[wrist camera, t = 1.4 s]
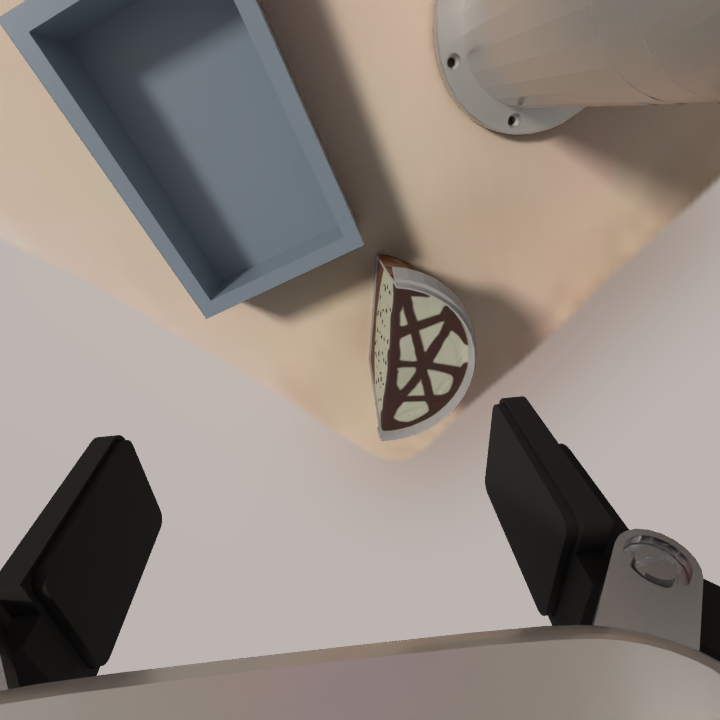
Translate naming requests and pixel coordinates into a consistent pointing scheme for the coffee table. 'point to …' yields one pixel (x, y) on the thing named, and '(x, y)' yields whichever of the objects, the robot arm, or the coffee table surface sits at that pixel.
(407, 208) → the coffee table surface
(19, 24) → the bin
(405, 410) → the latticed semicircular wedge
